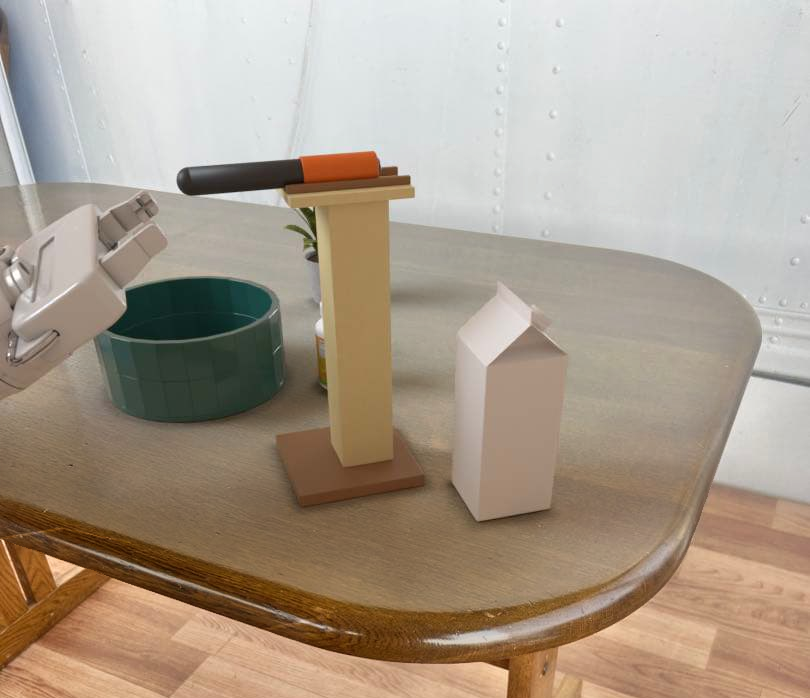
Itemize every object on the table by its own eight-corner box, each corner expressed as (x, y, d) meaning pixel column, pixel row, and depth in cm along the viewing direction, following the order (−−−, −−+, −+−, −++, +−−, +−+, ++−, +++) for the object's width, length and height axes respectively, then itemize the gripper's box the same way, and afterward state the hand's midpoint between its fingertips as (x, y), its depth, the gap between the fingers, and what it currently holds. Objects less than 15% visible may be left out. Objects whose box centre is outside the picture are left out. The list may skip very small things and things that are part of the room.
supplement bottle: (336, 369, 98) (331, 290, 92) (374, 379, 96) (371, 298, 90) (310, 386, 94) (303, 305, 88) (348, 397, 92) (344, 314, 86)
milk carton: (476, 523, 72) (489, 316, 60) (450, 482, 77) (457, 285, 66) (550, 510, 73) (575, 306, 62) (520, 471, 79) (537, 276, 68)
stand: (300, 507, 74) (269, 201, 58) (276, 445, 83) (244, 166, 67) (424, 485, 77) (427, 187, 61) (388, 427, 86) (382, 156, 70)
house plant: (358, 326, 109) (353, 198, 99) (265, 314, 112) (251, 190, 103) (393, 291, 120) (392, 172, 110) (308, 281, 123) (299, 166, 114)
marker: (180, 205, 61) (176, 177, 59) (176, 187, 62) (172, 159, 60) (383, 188, 65) (386, 161, 63) (376, 170, 66) (378, 144, 64)
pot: (109, 434, 85) (89, 354, 80) (105, 358, 101) (88, 286, 96) (302, 406, 90) (295, 328, 85) (269, 337, 106) (261, 268, 101)
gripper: (-33, 339, 53) (134, 212, 52) (-6, 248, 69) (123, 150, 67) (41, 407, 57) (197, 291, 56) (51, 307, 73) (173, 215, 71)
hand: (157, 213), depth 62 cm, fingers open, 8 cm apart
